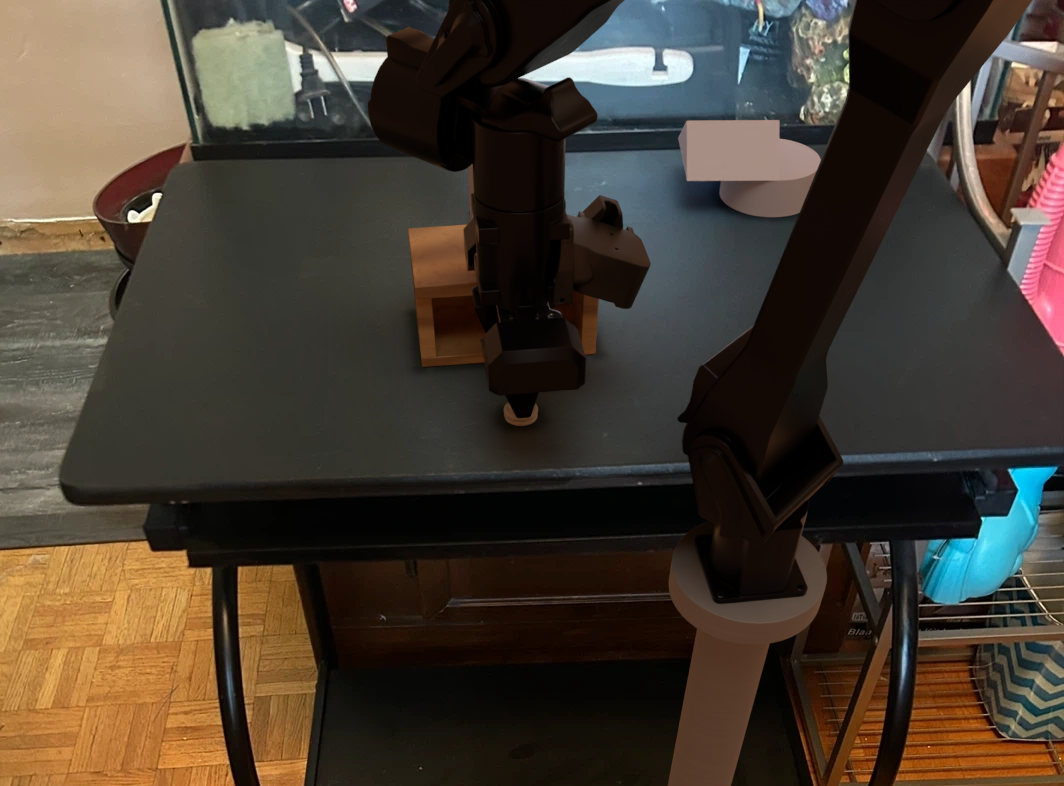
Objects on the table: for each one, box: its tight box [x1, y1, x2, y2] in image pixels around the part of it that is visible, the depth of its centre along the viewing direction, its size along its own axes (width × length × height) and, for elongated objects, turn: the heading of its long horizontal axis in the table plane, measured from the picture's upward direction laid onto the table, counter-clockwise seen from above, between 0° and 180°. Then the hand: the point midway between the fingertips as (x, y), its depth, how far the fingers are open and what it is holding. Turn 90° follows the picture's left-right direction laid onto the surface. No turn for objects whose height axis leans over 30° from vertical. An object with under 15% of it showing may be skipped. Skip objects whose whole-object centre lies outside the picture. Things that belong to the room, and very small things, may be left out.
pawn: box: [503, 401, 539, 427], centre depth 76 cm, size 3×3×4 cm
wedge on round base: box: [677, 119, 822, 218], centre depth 96 cm, size 9×7×13 cm
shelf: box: [407, 224, 600, 368], centre depth 82 cm, size 9×14×7 cm, turn 97°
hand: (521, 405), depth 76 cm, fingers open, 3 cm apart
